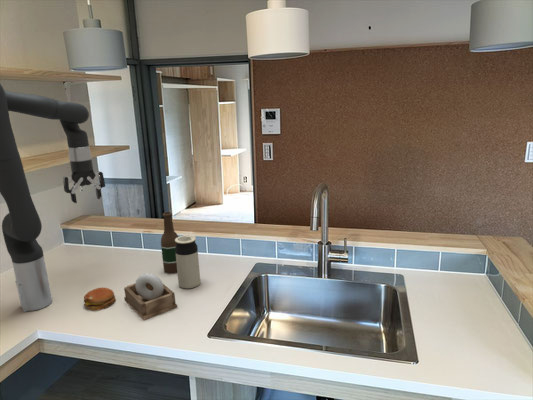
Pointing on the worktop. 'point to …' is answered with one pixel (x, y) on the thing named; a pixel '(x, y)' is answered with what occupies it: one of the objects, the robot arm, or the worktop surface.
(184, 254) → the travel mug
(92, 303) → the burger
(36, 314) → the worktop surface
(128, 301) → the walnut stand
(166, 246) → the beer bottle
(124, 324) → the worktop surface
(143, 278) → the donut
